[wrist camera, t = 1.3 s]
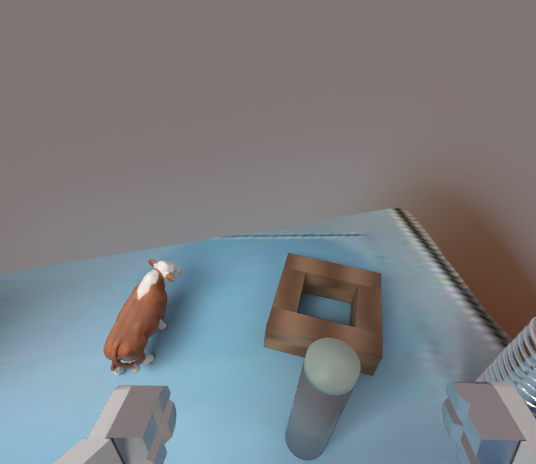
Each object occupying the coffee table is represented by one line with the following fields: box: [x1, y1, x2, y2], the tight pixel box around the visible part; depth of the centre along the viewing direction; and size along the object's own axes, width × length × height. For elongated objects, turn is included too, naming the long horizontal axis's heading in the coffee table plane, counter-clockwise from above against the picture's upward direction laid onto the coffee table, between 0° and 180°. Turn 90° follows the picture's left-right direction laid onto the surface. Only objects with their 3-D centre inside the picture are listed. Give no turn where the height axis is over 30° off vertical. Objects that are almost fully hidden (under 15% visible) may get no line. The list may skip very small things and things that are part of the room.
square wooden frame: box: [264, 253, 382, 376], centre depth 44 cm, size 13×13×4 cm
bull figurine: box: [104, 259, 182, 375], centre depth 38 cm, size 4×13×8 cm, turn 167°
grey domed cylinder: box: [285, 338, 361, 460], centre depth 29 cm, size 4×4×14 cm
